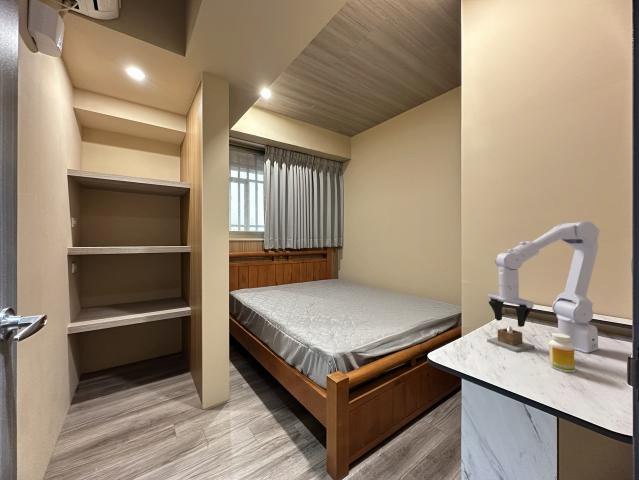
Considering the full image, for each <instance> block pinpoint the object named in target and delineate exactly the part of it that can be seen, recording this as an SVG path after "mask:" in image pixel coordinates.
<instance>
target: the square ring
mask: <svg viewBox="0 0 639 480" xmlns="http://www.w3.org/2000/svg"><path fill="white" fill-rule="evenodd" d="M497 337H498V341H500V342H503V343H506V344H508V345H511V346H515V345H519V344H522V341H523V332H522V331H518V330H514V329H513V333H509V332H507V327H506V328H505V327H504V328H500V329H497Z"/></svg>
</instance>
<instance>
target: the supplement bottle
mask: <svg viewBox="0 0 639 480" xmlns="http://www.w3.org/2000/svg"><path fill="white" fill-rule="evenodd" d="M551 338H552V339H551V340H550V341H549V342H548V351H549V352H548V353H549V354H548V355H549V357H548V361H549V366H550V367H551V368H553V369H555V370H557V371H560V372H564V373H573V372H575V371H576V367H575V349H574V346H573V345H572V344H571V343H569V342H571V338H570V336H568V335H565V334H560V333H558V332H553V333H551Z"/></svg>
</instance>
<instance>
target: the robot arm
mask: <svg viewBox="0 0 639 480" xmlns="http://www.w3.org/2000/svg"><path fill="white" fill-rule="evenodd" d="M599 234H600V228H598V227H597V226H596V224H595V223H593V222H592V221H588V220H587V221H586V220H585V221H584V220H583V221H579V222H569V223H568V222H564V223H563V222H562V223H559V224H558V225H555V226H554V227H552V228H551V229H550V230H548V231H547V232H546V233H545V232H544V234H542V235H540V236H539V237H538V238H536V239H534V240H532V241H529V240H527V241H520V242H519V243H518V245H517V246H515V247H513V248H509V249H507V252H500V253H499V254H497V257H496V258H495V259H494V263H495V265H496V267H497V270H498V290H499V293H498V294H494V293H489V294H487V299H488V300H489V301H488V304H489V305H490V308H491V309H492V311H493V313H494V316H495V321H497V322H499V321H502V320H503V307H504V303H507V304H510V305H517V306H515V307H514V309H515V312H516V315H517V327H519V328H522V327H525V324H526V320H527V318H528V316H529V314H530V312H531V311H532V310H533V308H534V301H531V300H527V299H524V298H520V287H519V269H520V268H521V267H522V266H523V263H525V262H526V261H528V260H530V259H532V258H534V257H535V256H536V257H537V255H539V252H540V250H542V249H543V248H546V247H547V246H549V245H551V244H553V243H555V242H557V241H559V240H561V241H562V242H564V243H566V244H567V245H570V246H571V247H572V248H573V249H574V252H573V256H572V259H571V260H572V261H571V265H570V268H569V272H568V277H567V280H566V285H565V289H564V291H563V292H561V293H559V294H558V295H557V296H556V299H555V300H554V301H553V302H552V304H551V309H552V312H553V313H554V314H556V318H557V321H558V322H557V326H558V327H557V331H558V332H557V333H560V334H565V335H568V336H570V338H571V342H569V343H571V344H572V345H573V346H574V351H578V352H582V353H585V354H588V353H592V352H595V351H598V350H600V347H599V331H598V328H597V327H596V326H595V325H593V324H590V323H589V322H591V321H592V319H593V318H594V312H593V304H594V303H593V302H592V301H591V300H590V299H589V298H588V297H587V294H588V290H589V285H590V282H591V279H592V276H593V275H592V274H593V272H594V267H595V263H596V259H597V254H598V251H599V243H598V241H599V240H598V238H599Z"/></svg>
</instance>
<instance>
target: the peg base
mask: <svg viewBox="0 0 639 480" xmlns="http://www.w3.org/2000/svg"><path fill="white" fill-rule="evenodd" d="M506 328H507V332H509V333H513V330H514V329H513V327H512V326H510V325H508V326H507V327H506ZM486 342H487V343H490V344H492V345H495V346H499V347H501V348H503V349H506V350H509V351H511V352H514V353H518V352H523V351H526V350H530V349H534V348H535V347H536V346H535V344H531V343H529V342H526V341H523V340H522V344H519V345H515V346H511V345H508V344H506V343H503V342H500V341H498V336H496V337H493V338H488V339H486Z"/></svg>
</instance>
